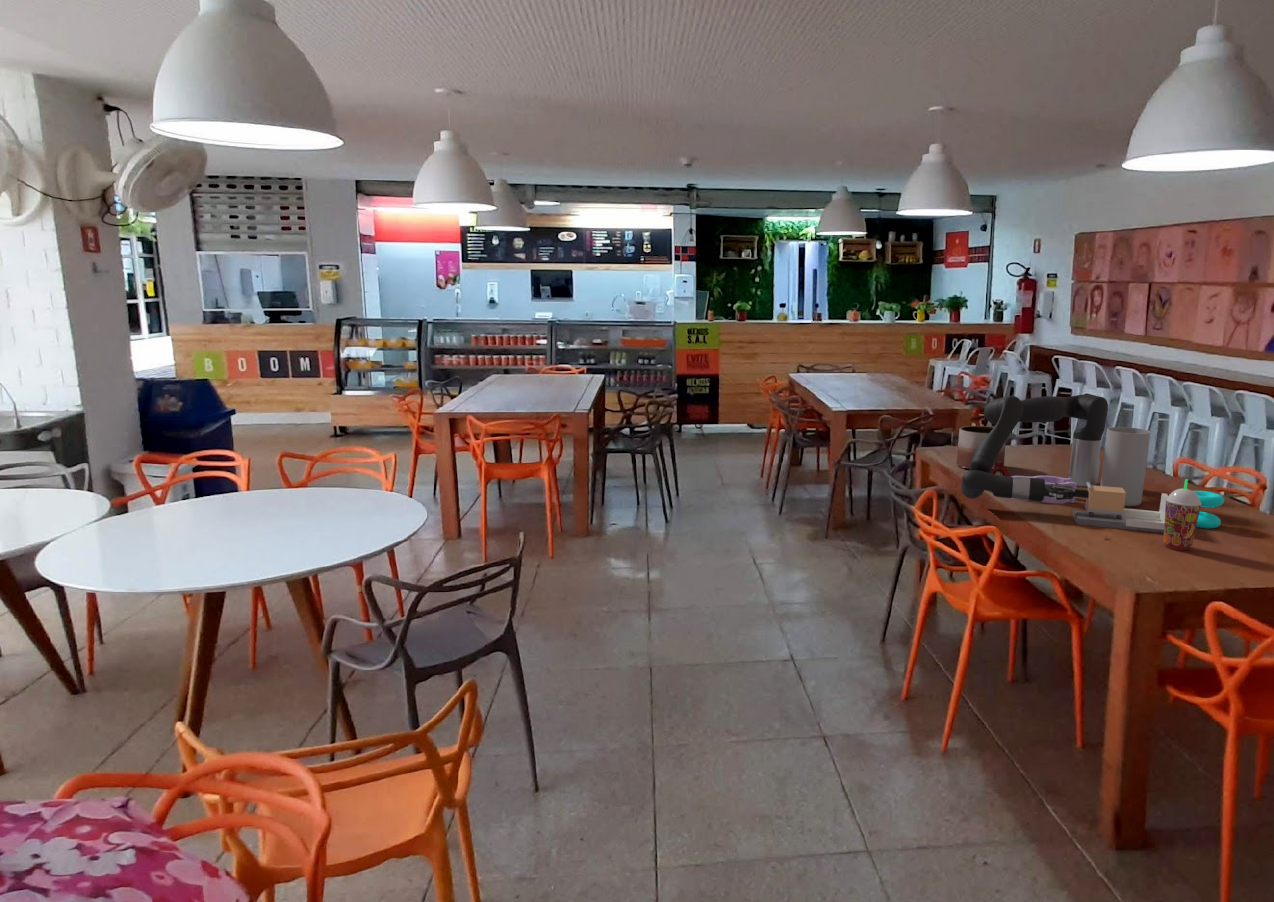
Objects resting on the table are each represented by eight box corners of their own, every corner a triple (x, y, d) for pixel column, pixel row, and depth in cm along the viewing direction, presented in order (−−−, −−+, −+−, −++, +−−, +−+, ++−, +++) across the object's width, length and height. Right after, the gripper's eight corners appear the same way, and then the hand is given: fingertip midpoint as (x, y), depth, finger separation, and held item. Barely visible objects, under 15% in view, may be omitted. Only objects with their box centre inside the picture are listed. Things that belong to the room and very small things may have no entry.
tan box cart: (1083, 510, 258) (1086, 481, 256) (1119, 513, 254) (1123, 484, 252) (1085, 516, 251) (1089, 487, 249) (1123, 520, 248) (1127, 490, 246)
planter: (1006, 465, 330) (1010, 428, 326) (999, 474, 315) (1003, 435, 312) (961, 460, 339) (963, 424, 336) (952, 469, 324) (955, 430, 321)
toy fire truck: (1005, 492, 288) (1007, 464, 286) (970, 486, 297) (973, 459, 295) (1012, 489, 293) (1015, 461, 291) (978, 483, 302) (980, 456, 299)
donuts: (1184, 488, 254) (1223, 492, 249) (1180, 518, 256) (1218, 523, 251) (1185, 495, 245) (1226, 499, 240) (1181, 526, 248) (1221, 531, 242)
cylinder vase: (1102, 505, 271) (1111, 432, 266) (1095, 496, 283) (1103, 426, 278) (1145, 508, 267) (1154, 434, 262) (1136, 499, 279) (1145, 428, 273)
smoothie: (1152, 543, 232) (1161, 476, 228) (1179, 542, 232) (1189, 475, 228) (1174, 552, 224) (1183, 483, 219) (1202, 551, 224) (1212, 482, 220)
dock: (1072, 512, 263) (1075, 486, 261) (1162, 521, 253) (1166, 493, 251) (1076, 524, 250) (1079, 496, 248) (1171, 533, 240) (1175, 504, 238)
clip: (1014, 501, 277) (1016, 482, 275) (1006, 492, 288) (1007, 474, 287) (1077, 505, 272) (1079, 485, 271) (1066, 495, 284) (1068, 476, 283)
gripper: (1029, 482, 253) (1092, 487, 247) (1027, 473, 265) (1087, 477, 259) (1027, 505, 255) (1089, 511, 248) (1025, 495, 267) (1084, 500, 260)
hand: (1088, 494), depth 253 cm, fingers closed
